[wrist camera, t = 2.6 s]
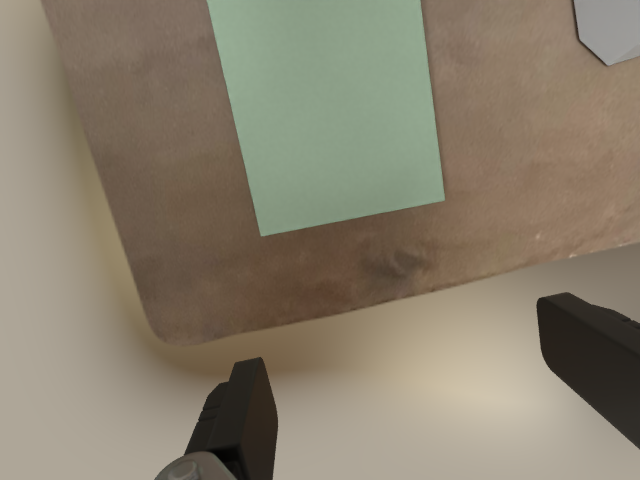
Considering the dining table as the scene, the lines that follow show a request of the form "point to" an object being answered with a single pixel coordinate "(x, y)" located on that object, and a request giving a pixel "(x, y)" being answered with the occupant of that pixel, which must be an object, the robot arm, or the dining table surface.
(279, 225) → the mat
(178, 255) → the dining table surface
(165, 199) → the dining table surface
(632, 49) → the flask
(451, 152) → the dining table surface
